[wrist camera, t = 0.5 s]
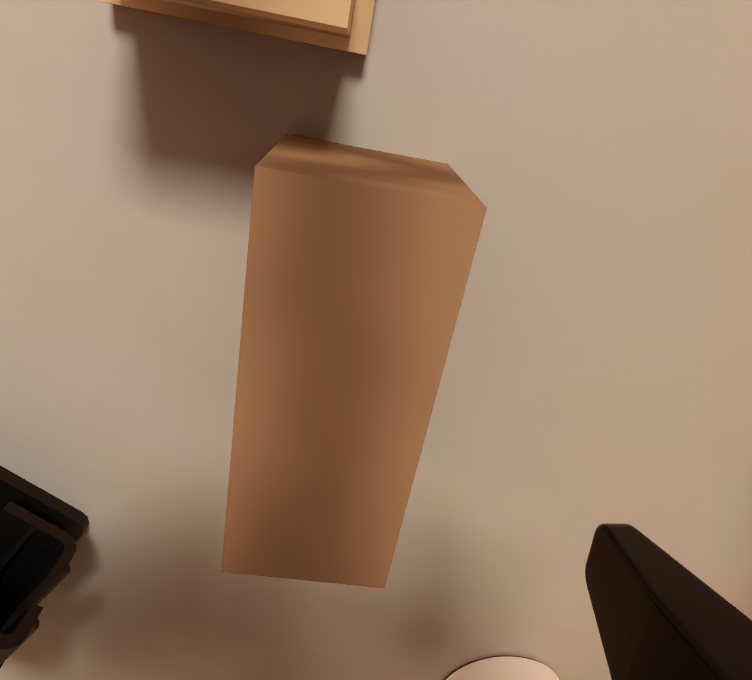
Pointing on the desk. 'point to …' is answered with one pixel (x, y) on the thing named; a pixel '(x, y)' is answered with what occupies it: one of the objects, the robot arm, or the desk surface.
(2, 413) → the desk surface
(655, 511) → the desk surface
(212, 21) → the peg frame
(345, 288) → the brown rectangular block
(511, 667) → the cup
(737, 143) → the desk surface
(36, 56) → the desk surface
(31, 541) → the end cap
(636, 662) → the robot arm
